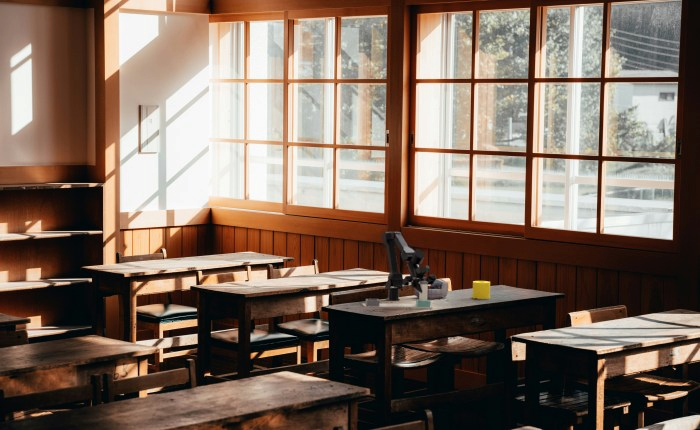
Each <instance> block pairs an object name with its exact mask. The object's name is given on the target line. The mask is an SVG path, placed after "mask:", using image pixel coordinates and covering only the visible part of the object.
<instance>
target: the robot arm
mask: <svg viewBox="0 0 700 430" xmlns="http://www.w3.org/2000/svg"><path fill="white" fill-rule="evenodd" d="M381 242H382V243H383V245H384V246H385V248H386V253H387V261H388V269H389V273H388V276H387V281H386V282H385V285H384V287H385V289H386V290H388V297H387V300H388V301H400V298H399V296H400V295H399V292H400V290H402V289H403V287H407V286H409V285H410V287H412V288H413V289H414V288H415V289H416V290H418V291H419V292H420V293H422V289H421V287H420V281H428V286H430V285H432V284H433V283H434V282H435V280H436V279H437V276H436V275H435V274H428V275H427V277H426V274H427V273H429V272H430V271H431V268H430V265H425V266H420V265H421V264H422V263H423V260H424V258H425V256H426V255H425V253H424V252H423V251H422V250H420V248H417V249H416V248H415V250H414V249H413V248H412V247H410V246H408V244H407V242H406V241H405V239H404V237H403V235H402V232H400V231H385V232H382V234H381ZM396 245H397V247H398V248H399V251H400V257H401V259H402V261H403V262H406V263H407V264H406V266H405V269H408V270H409V272H410V274H409V275H405V277H404V278H403V273H402V272H400V271H399V264H398V259H397V251H396ZM415 289H414V290H415ZM427 293H428V292H427Z"/></svg>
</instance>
